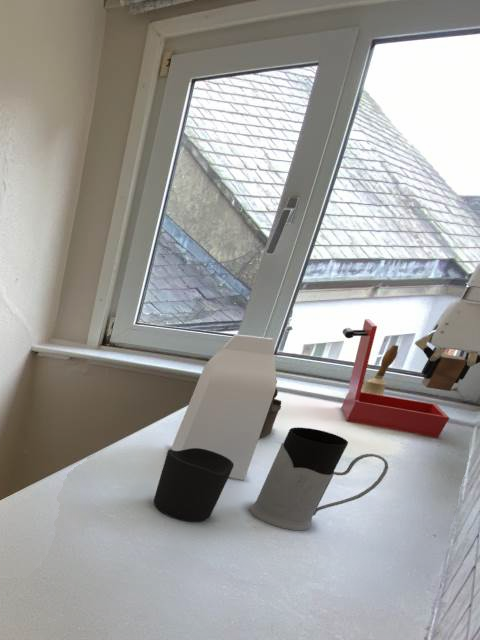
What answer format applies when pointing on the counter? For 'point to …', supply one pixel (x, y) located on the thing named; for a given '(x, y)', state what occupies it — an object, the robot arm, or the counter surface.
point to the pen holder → (191, 483)
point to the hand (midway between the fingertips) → (439, 378)
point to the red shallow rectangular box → (395, 414)
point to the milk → (231, 402)
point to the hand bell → (380, 373)
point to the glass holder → (303, 478)
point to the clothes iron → (271, 415)
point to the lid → (361, 355)
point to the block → (445, 372)
